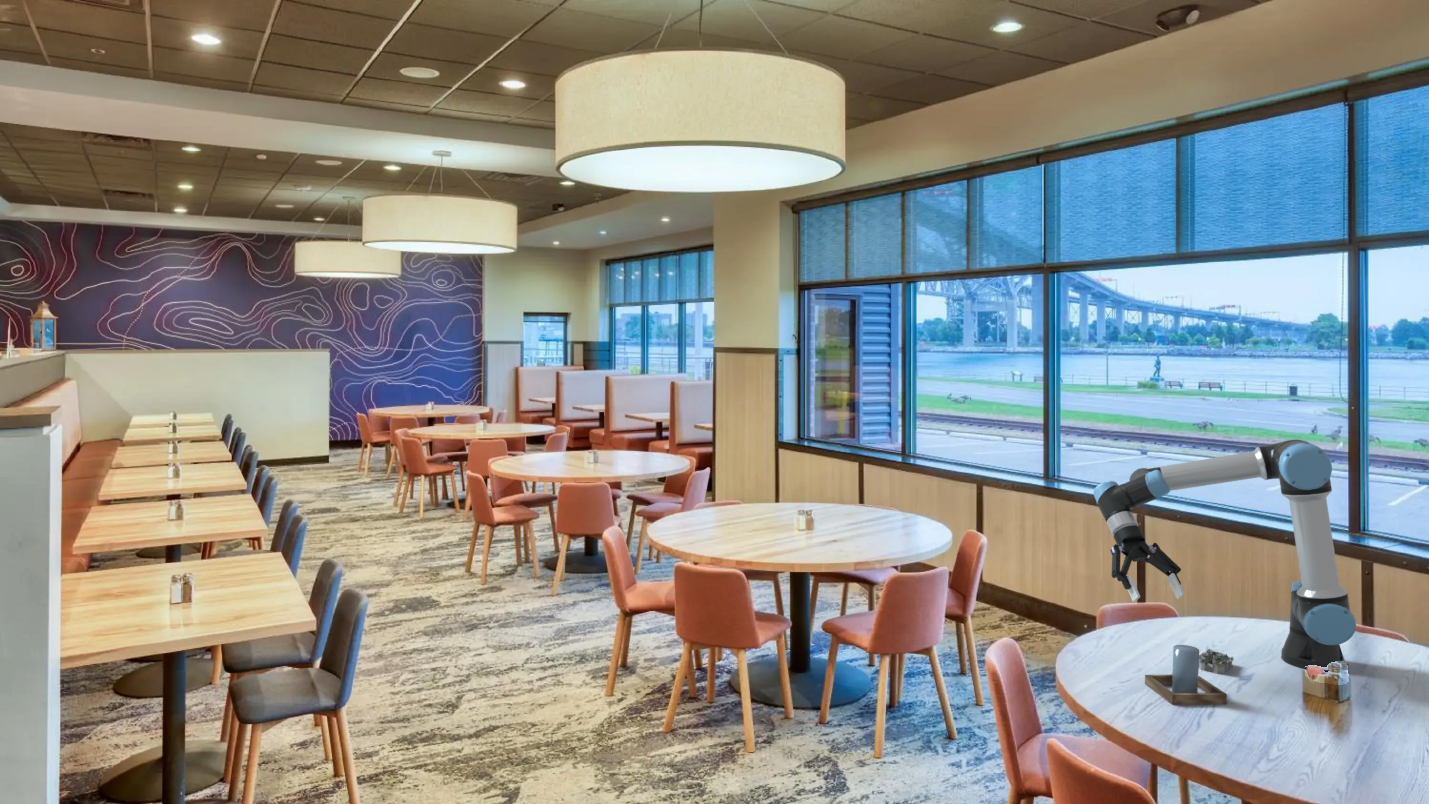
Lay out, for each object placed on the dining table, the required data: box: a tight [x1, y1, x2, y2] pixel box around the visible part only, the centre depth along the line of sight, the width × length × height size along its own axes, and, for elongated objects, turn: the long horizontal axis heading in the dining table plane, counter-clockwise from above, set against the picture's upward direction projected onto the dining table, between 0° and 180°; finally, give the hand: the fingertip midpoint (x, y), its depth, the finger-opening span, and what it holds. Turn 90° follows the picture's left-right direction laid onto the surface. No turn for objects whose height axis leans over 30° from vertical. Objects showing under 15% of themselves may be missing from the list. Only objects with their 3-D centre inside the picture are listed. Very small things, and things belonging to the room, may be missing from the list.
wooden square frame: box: [1144, 674, 1228, 705], centre depth 243 cm, size 14×14×2 cm
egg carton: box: [1199, 648, 1235, 675], centre depth 262 cm, size 11×8×4 cm
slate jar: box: [1171, 644, 1200, 693], centre depth 242 cm, size 6×6×12 cm
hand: (1159, 598), depth 251 cm, fingers open, 13 cm apart
